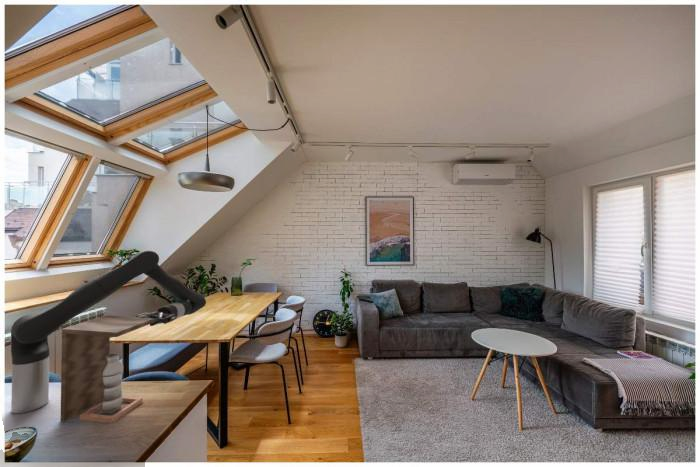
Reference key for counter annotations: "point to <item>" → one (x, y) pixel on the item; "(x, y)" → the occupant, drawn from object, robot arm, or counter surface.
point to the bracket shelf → (89, 359)
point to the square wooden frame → (111, 419)
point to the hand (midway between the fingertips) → (141, 322)
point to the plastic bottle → (111, 384)
